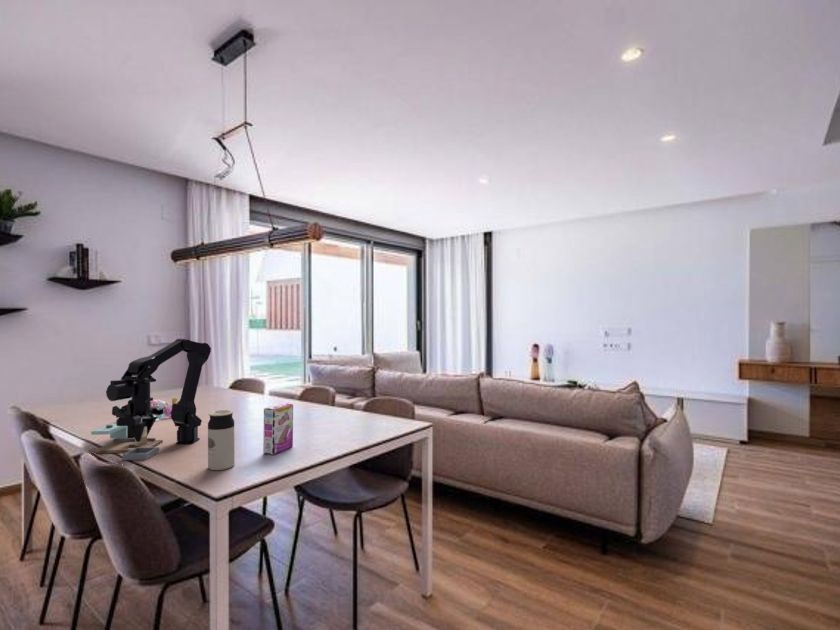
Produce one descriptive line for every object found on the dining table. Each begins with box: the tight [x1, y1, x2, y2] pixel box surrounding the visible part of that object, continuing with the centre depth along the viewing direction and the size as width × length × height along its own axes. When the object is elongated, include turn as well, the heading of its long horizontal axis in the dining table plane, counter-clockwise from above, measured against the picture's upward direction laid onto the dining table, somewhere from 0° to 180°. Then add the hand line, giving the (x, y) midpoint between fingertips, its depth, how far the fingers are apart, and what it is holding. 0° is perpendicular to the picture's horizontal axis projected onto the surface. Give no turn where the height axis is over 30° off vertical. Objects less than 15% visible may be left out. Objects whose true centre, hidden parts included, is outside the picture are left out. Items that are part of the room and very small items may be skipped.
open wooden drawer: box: [93, 437, 164, 454], centre depth 169 cm, size 18×12×2 cm
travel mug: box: [207, 409, 236, 471], centre depth 147 cm, size 8×8×18 cm
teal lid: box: [90, 423, 128, 439], centre depth 168 cm, size 6×11×6 cm, turn 2°
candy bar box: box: [262, 402, 294, 456], centre depth 164 cm, size 11×5×16 cm, turn 159°
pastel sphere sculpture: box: [125, 397, 179, 423], centre depth 218 cm, size 25×24×9 cm
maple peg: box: [135, 426, 148, 446], centre depth 158 cm, size 4×4×6 cm
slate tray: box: [122, 446, 160, 461], centre depth 158 cm, size 8×8×2 cm
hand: (141, 439), depth 158 cm, fingers closed on maple peg, 4 cm apart
